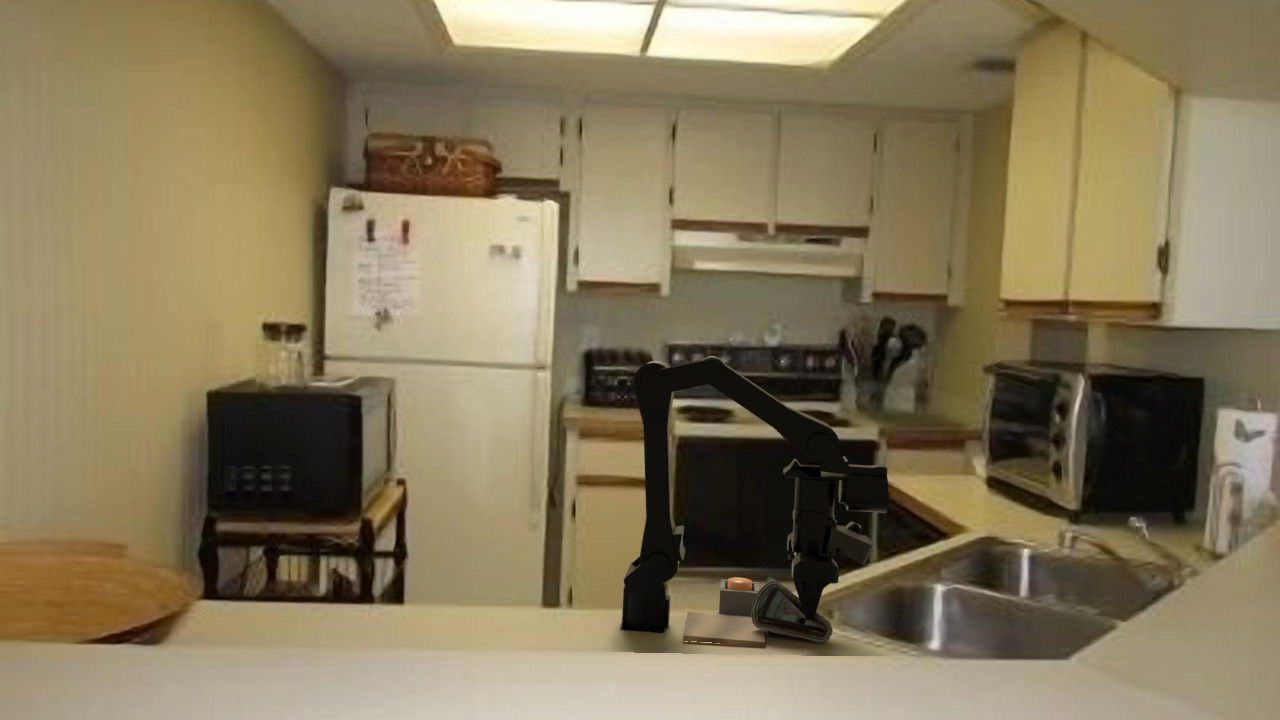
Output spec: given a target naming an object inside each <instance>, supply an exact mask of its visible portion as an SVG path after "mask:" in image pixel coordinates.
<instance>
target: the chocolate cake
mask: <svg viewBox="0 0 1280 720" xmlns="http://www.w3.org/2000/svg"><path fill="white" fill-rule="evenodd" d="M751 616H752V623H753V625H755V626H756V627H757V628H759V629H762V630H764V632H766V631H768V632H771V633H776V634H780V635H785V636H789V637H792V638H799V639H804V640H808V641H813V642H816V643H826V642H828V641H829V640H830V638H831V636H832V635H833V632H834V630H833V627H832V624H831V622H830V621H829V620H828V619H827V618H825V617H824V616H823V615H821V614H820V613H818V612H817V611H816V614H815V617H814V620H812V621H811V620H806V618H805V615H804V612H803V609H802V606H801V603H800V600H799V597H798V595H796V594H795V593H793V592H792V591H791V590H790V589H788V588H787V587H785V586H784V585H783V584H781V583H780V582H779V581H778V580H776V579H775V578H774V577H772V576H767V577H766V580H765V584H764V585H763V586H762V587H761V588H759V592H758V593H757V595H756V598H755V600H754V602H753V607H752V613H751Z"/></svg>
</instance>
